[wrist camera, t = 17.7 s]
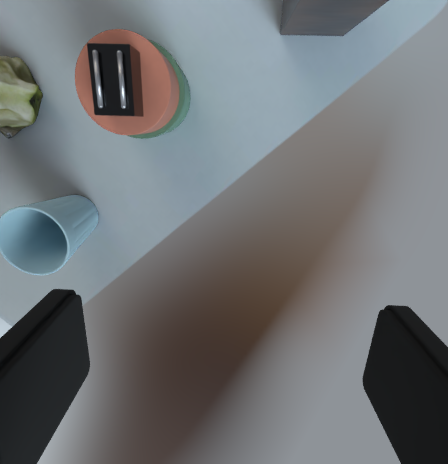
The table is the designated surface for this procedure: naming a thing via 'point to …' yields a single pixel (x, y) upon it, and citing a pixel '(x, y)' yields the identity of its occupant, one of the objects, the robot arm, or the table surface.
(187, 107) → the cup stack
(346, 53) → the table surface
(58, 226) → the cup
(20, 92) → the fruit
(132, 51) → the clip
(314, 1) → the clip stand
